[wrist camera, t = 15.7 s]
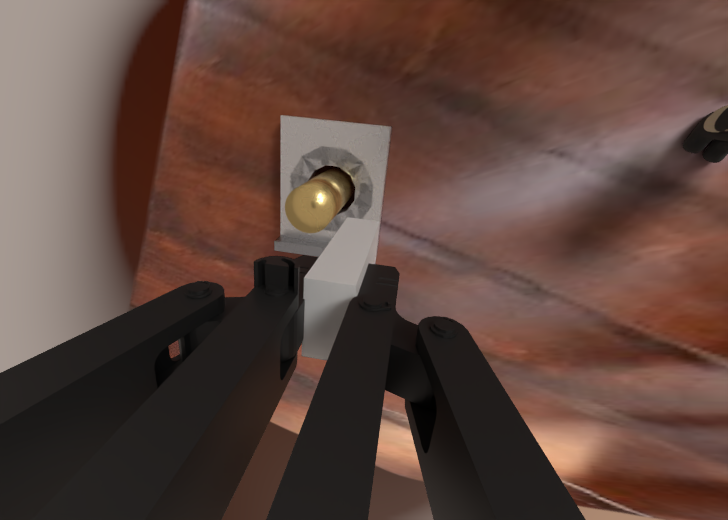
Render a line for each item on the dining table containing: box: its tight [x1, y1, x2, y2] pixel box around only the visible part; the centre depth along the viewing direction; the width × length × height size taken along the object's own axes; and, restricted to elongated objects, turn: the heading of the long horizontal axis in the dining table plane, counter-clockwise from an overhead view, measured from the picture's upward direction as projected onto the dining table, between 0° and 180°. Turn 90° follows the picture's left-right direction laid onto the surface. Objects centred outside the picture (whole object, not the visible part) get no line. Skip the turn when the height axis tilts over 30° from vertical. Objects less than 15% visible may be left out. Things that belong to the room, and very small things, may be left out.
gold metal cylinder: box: [285, 169, 353, 233], centre depth 37 cm, size 4×4×11 cm
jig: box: [274, 115, 392, 257], centre depth 41 cm, size 15×12×4 cm
